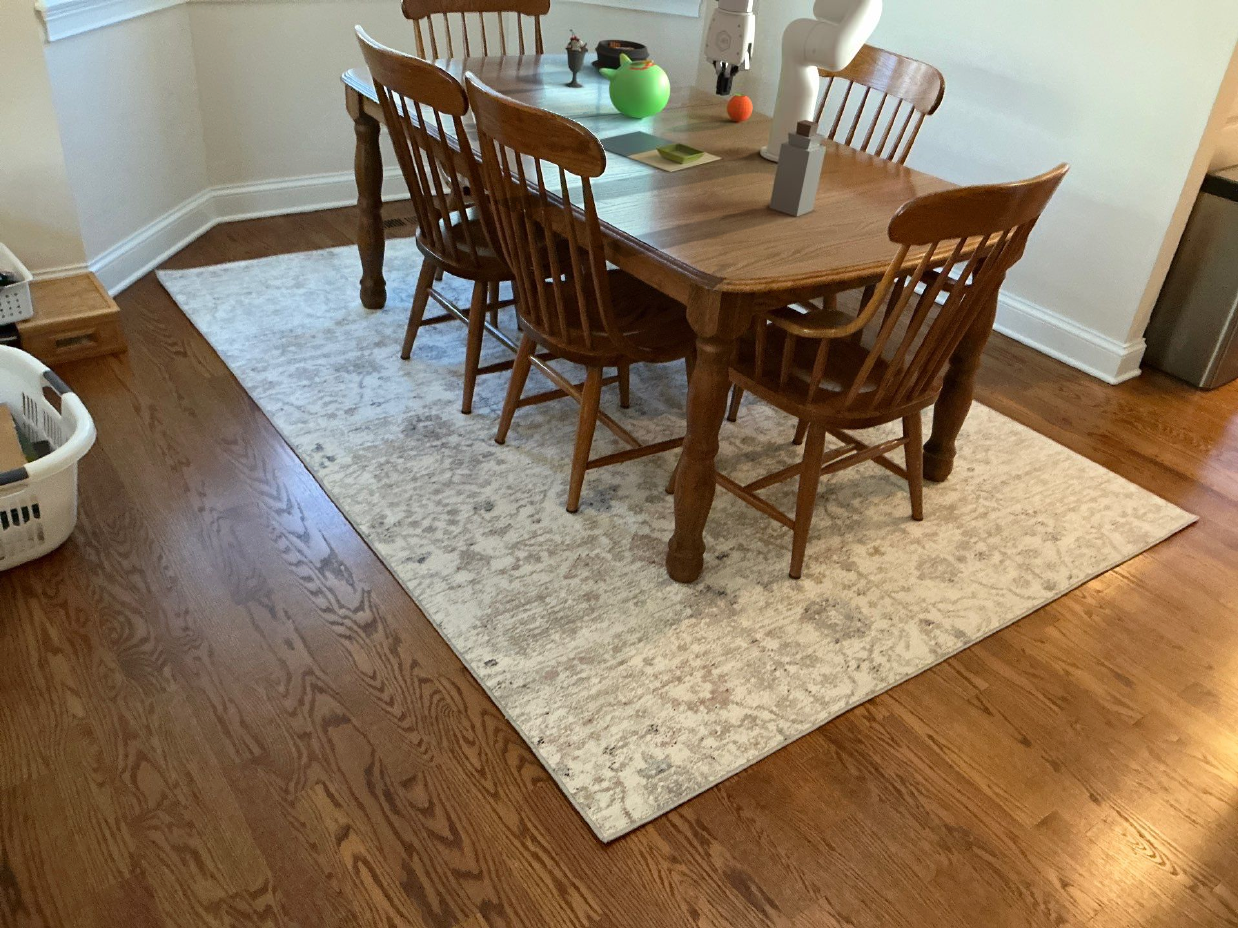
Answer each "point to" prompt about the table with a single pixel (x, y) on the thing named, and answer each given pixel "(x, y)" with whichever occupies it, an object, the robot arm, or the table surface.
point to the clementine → (739, 107)
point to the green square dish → (680, 153)
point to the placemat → (648, 150)
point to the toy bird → (637, 87)
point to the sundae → (575, 58)
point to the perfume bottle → (798, 170)
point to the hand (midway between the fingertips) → (722, 94)
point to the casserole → (618, 53)
